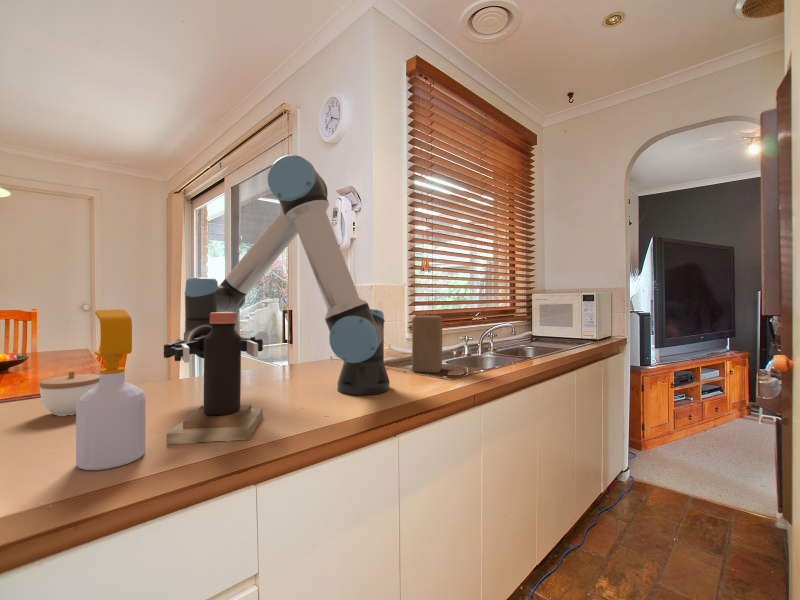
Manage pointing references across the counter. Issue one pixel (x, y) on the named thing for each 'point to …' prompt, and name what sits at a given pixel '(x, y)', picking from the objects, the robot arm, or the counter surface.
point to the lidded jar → (66, 392)
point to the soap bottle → (111, 404)
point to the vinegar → (222, 366)
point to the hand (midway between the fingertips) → (223, 352)
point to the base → (215, 432)
